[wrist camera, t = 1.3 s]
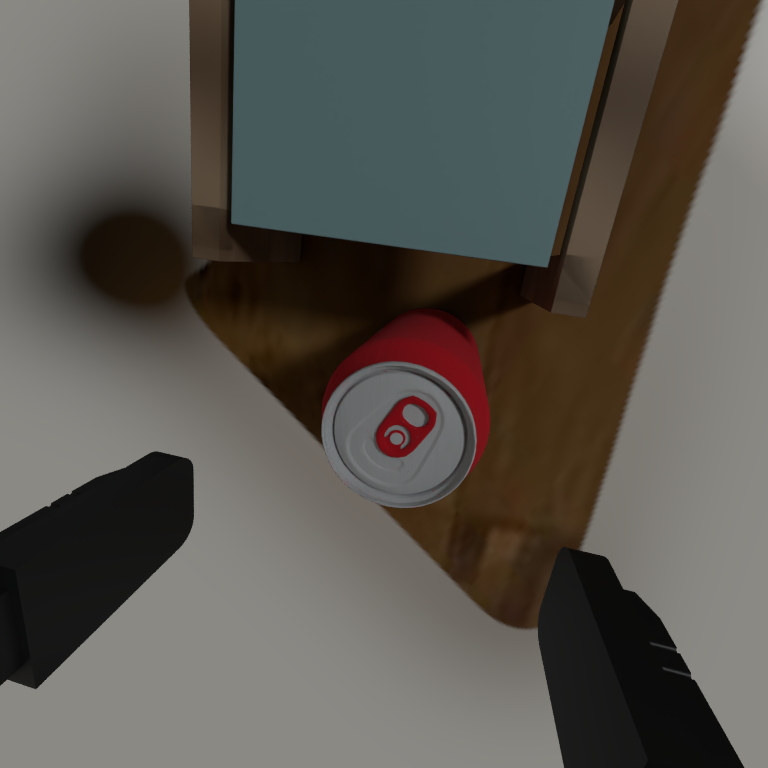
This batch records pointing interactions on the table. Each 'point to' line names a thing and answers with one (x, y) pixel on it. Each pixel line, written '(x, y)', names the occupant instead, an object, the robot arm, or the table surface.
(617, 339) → the table surface
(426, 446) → the beverage can
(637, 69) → the trapdoor frame
